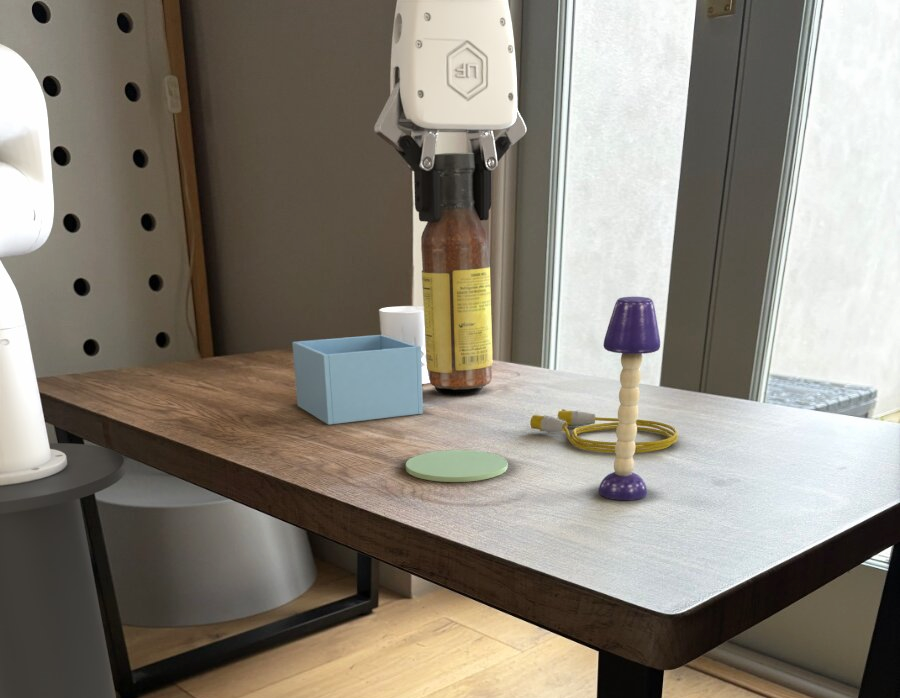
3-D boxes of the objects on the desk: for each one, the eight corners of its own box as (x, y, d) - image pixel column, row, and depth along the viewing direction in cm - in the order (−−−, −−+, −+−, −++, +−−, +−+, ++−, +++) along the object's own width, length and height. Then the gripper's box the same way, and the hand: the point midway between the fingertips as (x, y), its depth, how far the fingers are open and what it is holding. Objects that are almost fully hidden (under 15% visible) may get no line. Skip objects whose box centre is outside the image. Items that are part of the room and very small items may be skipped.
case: (328, 424, 109) (323, 355, 106) (297, 405, 119) (292, 341, 116) (423, 413, 114) (421, 346, 110) (385, 396, 124) (382, 334, 121)
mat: (431, 487, 85) (431, 482, 85) (390, 462, 93) (389, 457, 93) (526, 473, 89) (526, 468, 89) (478, 450, 97) (478, 445, 97)
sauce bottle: (497, 380, 90) (500, 154, 82) (486, 392, 85) (488, 150, 77) (431, 378, 91) (428, 155, 83) (416, 390, 86) (411, 152, 78)
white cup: (429, 375, 137) (427, 304, 133) (443, 384, 130) (441, 310, 126) (376, 378, 136) (373, 307, 131) (388, 388, 129) (385, 313, 125)
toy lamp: (659, 498, 81) (675, 299, 74) (612, 505, 79) (624, 302, 73) (631, 484, 85) (643, 293, 78) (585, 490, 84) (594, 296, 77)
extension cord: (608, 416, 110) (609, 400, 110) (701, 444, 98) (703, 425, 97) (522, 429, 105) (522, 412, 104) (609, 461, 92) (610, 441, 92)
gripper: (370, -44, 68) (381, 224, 76) (564, -26, 75) (557, 219, 82) (336, -24, 74) (349, 222, 82) (518, -9, 81) (515, 217, 88)
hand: (453, 218), depth 82 cm, fingers closed on sauce bottle, 4 cm apart
